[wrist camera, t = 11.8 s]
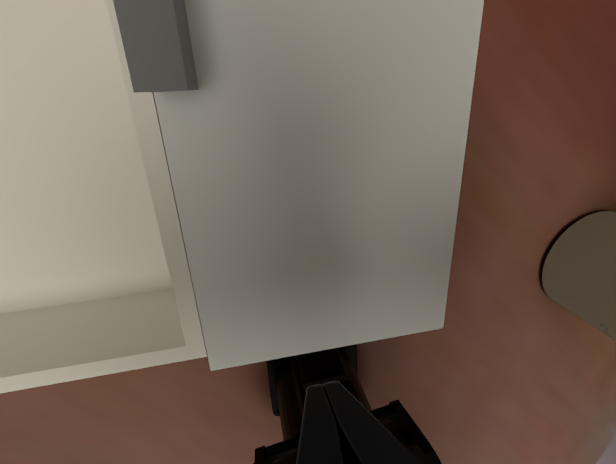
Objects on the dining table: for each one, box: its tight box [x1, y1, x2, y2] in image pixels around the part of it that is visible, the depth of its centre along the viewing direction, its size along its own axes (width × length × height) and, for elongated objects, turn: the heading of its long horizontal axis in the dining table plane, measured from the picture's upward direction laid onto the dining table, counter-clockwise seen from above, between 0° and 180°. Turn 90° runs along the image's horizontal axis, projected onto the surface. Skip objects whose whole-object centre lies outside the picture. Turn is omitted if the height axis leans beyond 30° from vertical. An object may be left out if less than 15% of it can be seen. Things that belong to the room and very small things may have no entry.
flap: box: [113, 0, 484, 371], centre depth 11 cm, size 18×11×4 cm, turn 3°
